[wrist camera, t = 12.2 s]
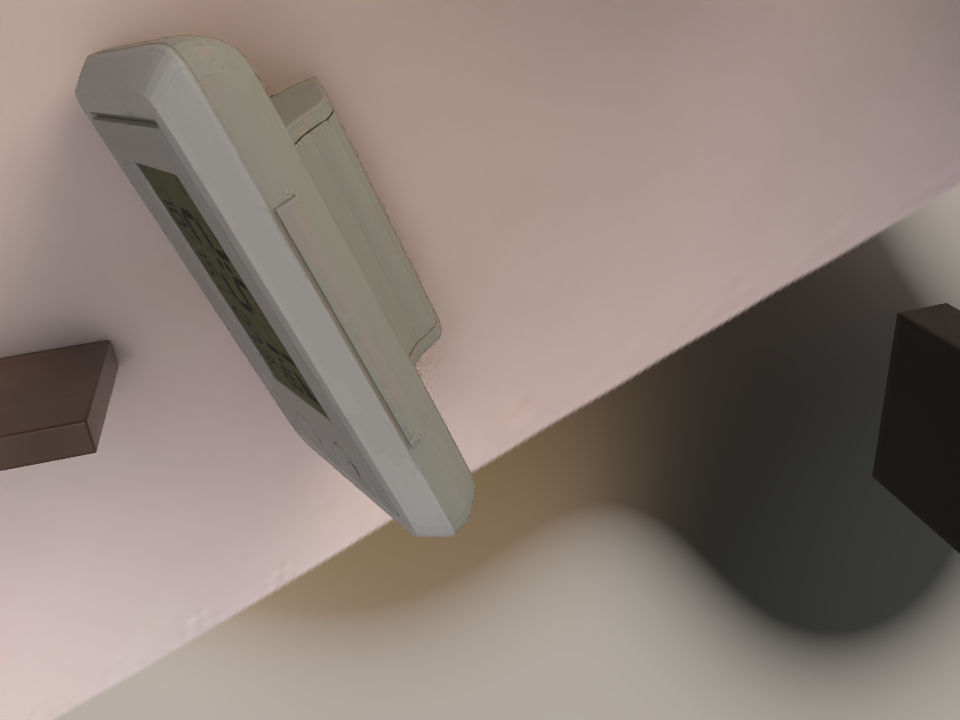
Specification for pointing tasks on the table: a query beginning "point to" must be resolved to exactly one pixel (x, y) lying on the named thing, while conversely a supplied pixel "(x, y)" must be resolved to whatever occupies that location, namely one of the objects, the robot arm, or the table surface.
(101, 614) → the table surface
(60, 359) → the walnut rack
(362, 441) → the digital clock
